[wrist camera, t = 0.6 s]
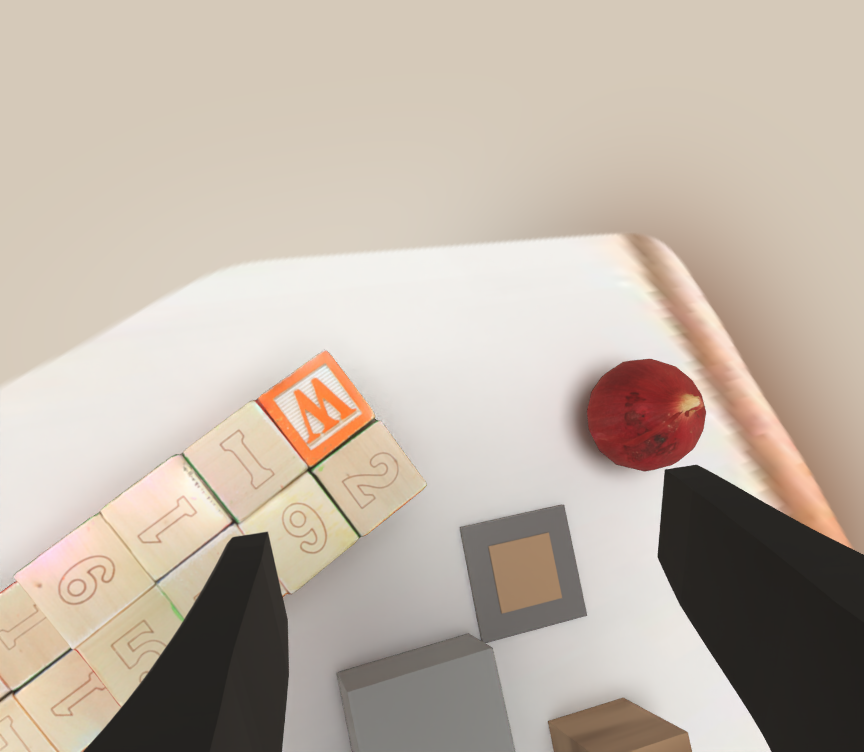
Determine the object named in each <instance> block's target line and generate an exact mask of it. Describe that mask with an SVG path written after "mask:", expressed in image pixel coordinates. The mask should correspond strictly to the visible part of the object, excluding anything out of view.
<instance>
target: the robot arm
mask: <svg viewBox="0 0 864 752" xmlns="http://www.w3.org/2000/svg"><path fill="white" fill-rule="evenodd" d="M658 559H659V561H660V563H661V566H662V568H663V570H664V572H665V574H666V577H667V579H668V581H669V583H670V585H671V587H672V589H673V591H674V593H675V595H676V598H677V600H678V602H679V604H680V606H681V607H682V609H683V610H684V612H685V614H686V615H687V617H688V618H689V620H690V622H691V623H692V625H693V626H694V628H695V629H696V631H697V632H698V634H699V636H700V637H701V639H702V640H703V642H704V643H705V645H706V646H707V648H708V650H709V651H710V653H711V654H712V656H713V657H714V659H715V660H716V662H717V663H718V665H719V666H720V668H721V669H722V671H723V673H724V674H725V676H726V677H727V679H728V680H729V682H730V683H731V685H732V686H733V688H734V689H735V691H736V692H737V694H738V695H739V697H740V699H741V700H742V702H743V703H744V705H745V706H746V708H747V709H748V711H749V713H750V714H751V716H752V718H753V719H754V721H755V723H756V724H757V726H758V728H759V729H760V731H761V733H762V734H763V736H764V738H765V740H766V742H767V744H768V746H769V748H770V750H771V751H772V752H864V555H863V554H861V553H859V552H857V551H855V550H853V549H851V548H849V547H847V546H845V545H843V544H841V543H839V542H837V541H835V540H833V539H831V538H829V537H827V536H825V535H823V534H821V533H819V532H817V531H815V530H813V529H811V528H809V527H808V526H806V525H804V524H802V523H800V522H798V521H796V520H795V519H793V518H791V517H789V516H787V515H786V514H784V513H782V512H780V511H778V510H777V509H775V508H773V507H771V506H770V505H768V504H766V503H764V502H763V501H761V500H759V499H757V498H756V497H754V496H752V495H750V494H749V493H747V492H745V491H743V490H742V489H740V488H738V487H736V486H735V485H733V484H731V483H729V482H728V481H726V480H724V479H722V478H721V477H719V476H717V475H715V474H714V473H712V472H710V471H708V470H706V469H704V468H702V467H700V466H698V465H692V466H685V467H679V468H672V469H666V470H665V474H664V486H663V498H662V510H661V522H660V534H659V546H658ZM288 678H289V657H288V619H287V615H286V610H285V606H284V601H283V597H282V592H281V588H280V583H279V579H278V574H277V570H276V565H275V561H274V556H273V552H272V547H271V543H270V538H269V534H268V532H262V533H255V534H249V535H243V536H236V537H232V538H231V539H230V541H229V542H228V543H227V544H226V546H225V548H224V550H223V552H222V554H221V556H220V558H219V560H218V562H217V564H216V566H215V567H214V569H213V571H212V573H211V575H210V577H209V578H208V580H207V582H206V584H205V585H204V587H203V589H202V591H201V592H200V594H199V596H198V598H197V599H196V601H195V602H194V604H193V606H192V607H191V609H190V611H189V612H188V614H187V615H186V617H185V619H184V620H183V622H182V624H181V625H180V627H179V628H178V630H177V631H176V633H175V634H174V636H173V638H172V639H171V640H170V642H169V643H168V645H167V646H166V648H165V649H164V650H163V652H162V653H161V655H160V656H159V658H158V659H157V661H156V662H155V663H154V665H153V666H152V668H151V669H150V671H149V672H148V673H147V675H146V676H145V678H144V679H143V680H142V681H141V683H140V684H139V685H138V687H137V688H136V689H135V691H134V692H133V693H132V695H131V696H130V697H129V698H128V700H127V701H126V702H125V703H124V705H123V706H122V707H121V708H120V710H119V711H118V712H117V713H116V714H115V716H114V717H113V718H112V719H111V720H110V722H109V723H108V724H107V725H106V726H105V728H104V729H103V730H102V731H101V732H100V733H99V734H98V735H97V737H96V738H95V739H94V740H93V741H92V742H91V743H90V744H89V745H88V747H87V748H86V749H85V750H84V751H83V752H282V743H283V733H284V723H285V712H286V701H287V690H288Z"/></svg>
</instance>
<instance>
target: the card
mask: <svg viewBox="0 0 864 752" xmlns="http://www.w3.org/2000/svg"><path fill="white" fill-rule="evenodd" d="M460 531H461V537H462V542H463V547H464V552H465V557H466V563H467V568H468V573H469V578H470V584H471V589H472V594H473V599H474V604H475V610H476V615H477V620H478V625H479V631H480V636H481V641H482V642H484V643H488V642H491V641H495V640H499V639H502V638H506V637H510V636H514V635H517V634H521V633H525V632H528V631H532V630H536V629H539V628H543V627H547V626H550V625H554V624H558V623H562V622H565V621H569V620H573V619H576V618H580V617H584V616H587V613H586V608H585V603H584V598H583V594H582V589H581V584H580V579H579V574H578V570H577V565H576V560H575V555H574V550H573V545H572V541H571V536H570V531H569V526H568V521H567V517H566V512H565V507H564V505H559V506H554V507H550V508H545V509H540V510H536V511H531V512H527V513H522V514H518V515H513V516H509V517H504V518H500V519H495V520H491V521H486V522H482V523H477V524H473V525H468V526H464V527H460Z"/></svg>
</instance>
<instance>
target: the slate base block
mask: <svg viewBox="0 0 864 752" xmlns="http://www.w3.org/2000/svg"><path fill="white" fill-rule="evenodd" d="M337 677H338V682H339V688H340V693H341V698H342V703H343V708H344V713H345V718H346V723H347V728H348V733H349V738H350V743H351V748H352V752H515V748H514V743H513V738H512V734H511V729H510V725H509V720H508V716H507V711H506V707H505V702H504V698H503V693H502V689H501V684H500V679H499V675H498V670H497V666H496V661H495V657H494V652H493V648H492V647H490V646H489V645H487V644H485V643H484V642H482V641H480V640H479V639H477V638H475V637H474V636H472V635H470V634H469V633H468V634H465V635H462V636H458V637H455V638H452V639H448V640H445V641H441V642H438V643H435V644H431V645H428V646H425V647H421V648H418V649H414V650H411V651H408V652H404V653H401V654H398V655H394V656H391V657H388V658H384V659H381V660H377V661H374V662H371V663H367V664H364V665H361V666H357V667H354V668H350V669H347V670H344V671H340V672H337Z"/></svg>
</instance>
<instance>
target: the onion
mask: <svg viewBox="0 0 864 752" xmlns="http://www.w3.org/2000/svg"><path fill="white" fill-rule="evenodd" d="M705 416H706V410H705V406H704V402H703V399H702V395H701V393H700V392H699V390H698V389H697V387H696V385H695V384H694V382H693V381H692V380H691V379H690V378H689V377H688V376H687V375H685V374H684V373H683V372H682V371H680V370H679V369H678V368H677V367H675V366H672V365H669V364H666V363H663V362H660V361H657V360H653V359H643V360H634V361H627V362H622V363H621V364H619V365H618V366H616V367H615V368H613V369H612V370H610V371H609V372H607V373H606V374H605V375H604V376H602V377H601V379H600V380H599V382H598V383H597V384H596V386H595V387H594V389H593V390H592V392H591V396H590V400H589V405H588V409H587V417H588V427H589V431H590V433H591V435H592V437H593V439H594V441H595V443H596V445H597V447H598V449H599V451H600V452H602V453H603V454H604V455H605V456H607V457H608V458H609V459H610V460H611V461H613V462H614V463H615V464H616V465H620V466H624V467H628V468H633V469H637V470H641V471H650V470H655V469H658V468H662V467H666V466H670V465H673V464H674V463H676V462H678V461H679V460H680V459H682V458H683V457H684V456H685V455H687V454H688V453H689V452H690V451H692V450H693V448H694V447H695V446H696V444H697V442H698V440H699V438H700V436H701V434H702V432H703V429H704V422H705Z"/></svg>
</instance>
